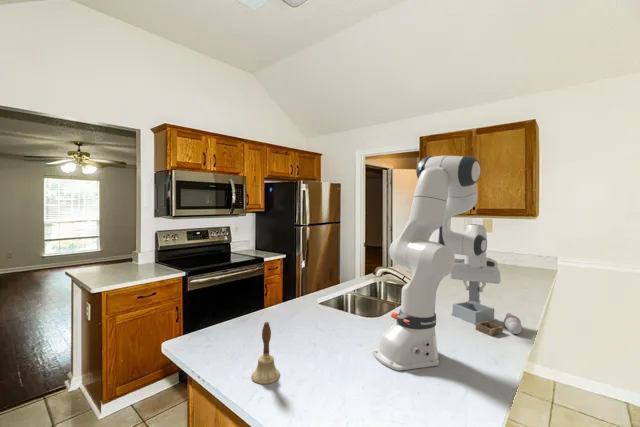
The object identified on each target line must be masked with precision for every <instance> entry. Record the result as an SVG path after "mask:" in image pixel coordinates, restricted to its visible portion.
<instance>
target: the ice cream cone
mask: <svg viewBox="0 0 640 427" xmlns="http://www.w3.org/2000/svg"><path fill="white" fill-rule="evenodd" d="M503 325H504V326H505V328H506V329H507V330H508V331H509V332H510V333H511V334H513V335H519V334H520V333H521V332H522V323H521V320H520V318H518V317H517V316H515V315H514V314H511V313H509V312H506V315H505V317H504V320H503Z"/></svg>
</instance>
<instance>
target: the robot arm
mask: <svg viewBox="0 0 640 427" xmlns="http://www.w3.org/2000/svg"><path fill="white" fill-rule="evenodd" d="M415 172H416V177H417V181H416V184H415V185H416V186H415V188H414V191H413V198H412V202H411V207H410V211H409V215H408V216H409V217H408V219H407V222H406V224H405V226H404V228H403V230H402V231H401V233H400V234H399V236H398V237H396V238H395V239H394V240H393V241H392V242H391V244H390V246H389V249H388V254H389V255H388V256H389V257H390V260H391V261H393V262H394V263H395V264H396V265H398V266H399V267H401V268H404V269H407V270H411V272H412V273H411V277H410V279H409V282H407V283H405V284H404V285H403V286H402V288H401V300H400V301H401V305H400V309H399V311H398V313H397V312H395V311H392V312H391V314H390V316H391V318H393V319H394V320H396V321H395V322H394V323H393V324H392V326H390V327H389V328H388V329H387V330H386V331H385V332H383V334H382V335H381V336H380V339H379V340H380V341H379V346H376V347H374V348H372V352H371V353H372V355H373V357H374V358H375V359H376V360H378V361H379V362H380V363H382V365H384V366H386V367H388V368H389V369H392V370H395V371H407V370H414V369H421V368H423V369H424V368H430V367H437V366H439V365H440V361H439V357H440V356H439V354H440V353H439V351H438V347H437V335H436V326H437V313H436V301H437V300H436V299H437V291H438V289H439V285H440V283H441V281H442V280H443V279H444V278H445V277H447V276H449V275H450V276H449V277H450V279H451V280H455V281H456V280H458V281H462V282H463V284H464V286H465V291H468V292H469V285H468V284H467V282H468V281H475V282H480V283H481V284H482V285H480V287H479V292H480V293H483V292H484V290H483V289H484V288H485V287H486V285H487V284H494V285H495V284H496V285H498V284H500V283H501V272H500V269H499V267H498V266H499V264H498V261H497V260H495V259H493V258H491V257H488V256H487V248H488V236H487V229H486V228H487V227H486V226H484V225H483V224H475V223H473V224H471V223H470V224H467V225H466V229H465V232H459V231H458V232H457V231H453V230H452V228H451V227H452V226H451V224H452V217H454V216H457V215H460V214H465V213H467V212H468V211H470V210H472V208H474V207H475V206H476V204H477V202H478V197H479V196H478V195H479V194H478V186H477V182H478V181H479V179H480V176H481V163H480V162H479V159H477V158H476V157H474V156H471V155H464V156H462V155H461V156H460V155H448V154H447V155H436V156H426V157H424V158H422V159H421V160H420V161H418V164H417V166H416V169H415ZM436 230H439V233H438V241H437V242H436V241H431V240H430V238H431V237H432V235H433V234H434V232H435V231H436ZM455 255H459V256H460V255H461V256H463V257H464V258H463V259H462V258H459V259H458V258H456V257H455ZM486 283H487V284H486Z"/></svg>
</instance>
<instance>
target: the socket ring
mask: <svg viewBox="0 0 640 427" xmlns="http://www.w3.org/2000/svg"><path fill="white" fill-rule="evenodd" d="M503 330H504V326H501V325H498V324H496V323H493V322H492V321H489V322H488V321H485V322H480V323H476V325H475V331H477V332H480V333H482V334H486V335H488V336H490V337H493V336H498V335H501V334H502V335H503V333H504V332H503Z"/></svg>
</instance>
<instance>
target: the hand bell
mask: <svg viewBox="0 0 640 427" xmlns="http://www.w3.org/2000/svg"><path fill="white" fill-rule="evenodd" d="M271 337H272V330H271V326H270V322H269V321H266V322H264V323H263V327H262V330H261V338H262V343H263V350H262V351H263V355H261V356H259V357H258V360H257V361H258V362H257V366H256V368H255V370H254V371H253V372H252V373H251V376H250V377H251V380H252V382H254V383H256V384H259V385H268V384H272V383H275V382H277V381H278V380H279V378H280V377H281V373H280V371H279V370H278V369H277V368H276V365H275V359H274V356H273V355H271V354H270V341H271Z"/></svg>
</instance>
